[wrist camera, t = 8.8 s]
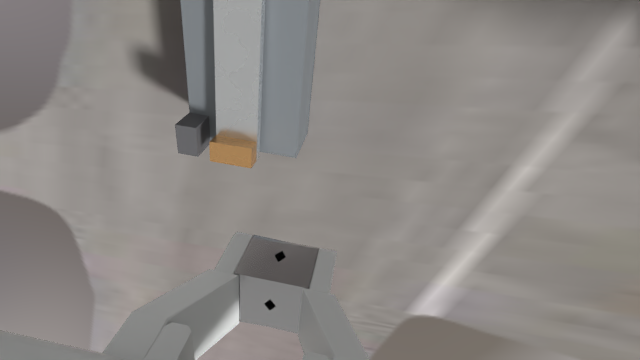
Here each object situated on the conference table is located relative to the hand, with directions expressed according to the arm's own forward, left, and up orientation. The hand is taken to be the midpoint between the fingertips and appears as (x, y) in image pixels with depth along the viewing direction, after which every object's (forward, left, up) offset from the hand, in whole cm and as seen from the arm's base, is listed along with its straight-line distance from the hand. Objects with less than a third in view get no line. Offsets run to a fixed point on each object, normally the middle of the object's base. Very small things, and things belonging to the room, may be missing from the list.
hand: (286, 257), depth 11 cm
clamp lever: (+10, +2, -24) cm, 27 cm away
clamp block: (+10, +1, -31) cm, 33 cm away
